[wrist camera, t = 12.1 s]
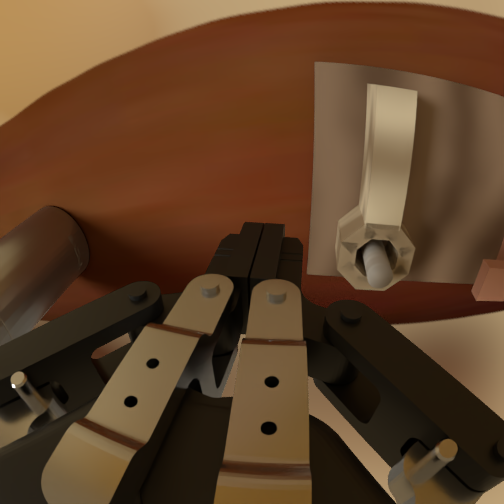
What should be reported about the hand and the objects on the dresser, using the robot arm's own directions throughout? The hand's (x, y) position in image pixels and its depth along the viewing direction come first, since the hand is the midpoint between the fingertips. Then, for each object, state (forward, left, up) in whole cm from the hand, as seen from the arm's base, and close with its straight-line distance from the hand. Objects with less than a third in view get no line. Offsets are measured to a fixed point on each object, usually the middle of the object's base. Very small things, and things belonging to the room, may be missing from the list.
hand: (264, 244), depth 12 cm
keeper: (+19, -6, -14) cm, 24 cm away
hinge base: (+13, -1, -14) cm, 19 cm away
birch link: (+7, -1, -13) cm, 14 cm away
